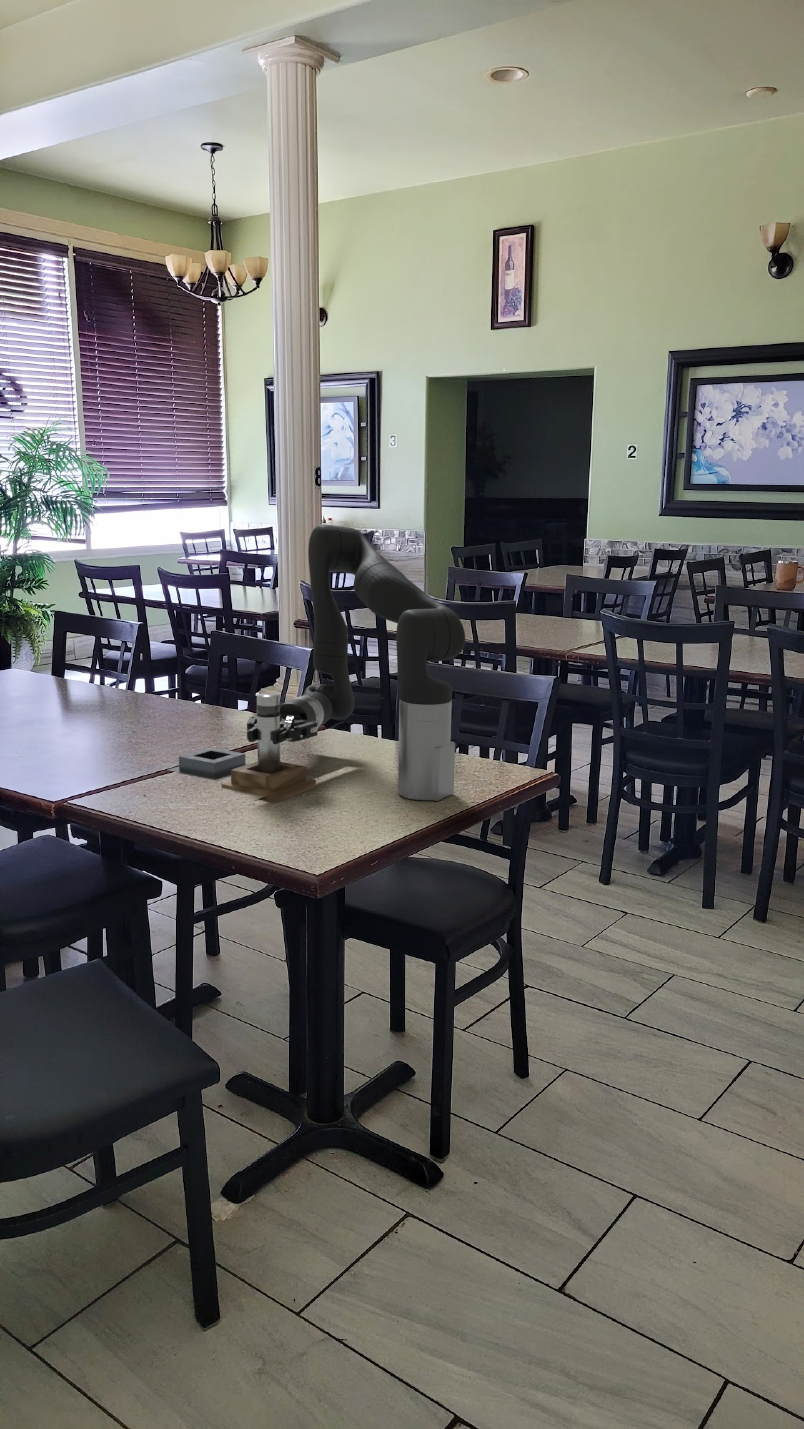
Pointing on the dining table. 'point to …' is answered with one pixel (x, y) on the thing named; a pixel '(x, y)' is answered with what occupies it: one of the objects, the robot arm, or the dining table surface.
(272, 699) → the clear test tube
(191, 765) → the socket
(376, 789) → the dining table surface
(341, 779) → the dining table surface
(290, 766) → the brown wooden square holder
